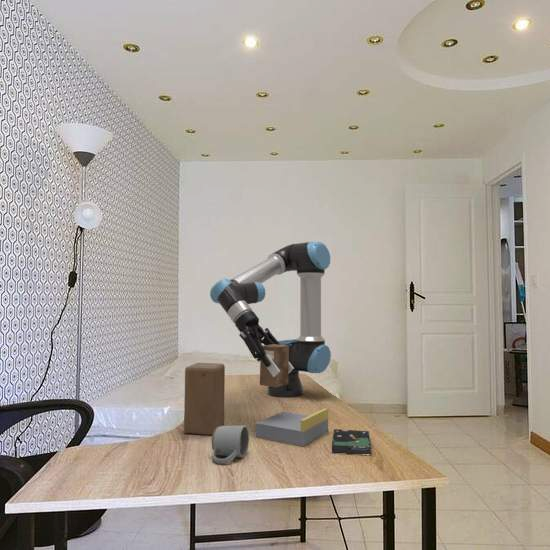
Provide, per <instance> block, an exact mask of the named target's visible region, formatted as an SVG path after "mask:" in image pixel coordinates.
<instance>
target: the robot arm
mask: <svg viewBox="0 0 550 550" xmlns="http://www.w3.org/2000/svg"><path fill="white" fill-rule="evenodd" d="M330 264H331V254H330V251H329V249H328V248H327V245H325V244H324V243H323V242H321V241H309V242H307V241H306V242H300V243H291V244H288V245H286V246H284V247H282V248H280V249H278V250H275V251H274V252H272V253H270V254H269V255H268V257H267V259H265V260H263V261H261V262H260V263H258V264H256V265H254V266H253V267H251V268H249V269H247V270H245V271H243V272H242V273H240V274H238V275H237V276H234V277H233V278H231V279H229V278H222V279H220V280H219V281H217V282H215V283H214V285H213V286H211V288H210V293H209V296H210V299H211V301H212V302H213V303H215V304H219V305H220V306H221V308H222V309H223V310H224V311H225V312H226V314H227V316H229V318H230V320H231V321H232V323H233V324H234V326H235V327H236V328H237V330H238V332H240V333H239V334H238V335H239V337H240V338H241V339H242V340H243V342H244V344H245V346H246V347H247V348H248V351H249V352H250V355H251V356H252V357H253V358H254V360H255V359H256V361H257V362H260V360H261V361H262V362H263V363H264V365H265V366H266V367H267V369H268V370H269V372H270V373H271V374H272V376H273V377H275V376H276V375H277V374H278V373H279V372H280V370H279V369H278V367H277V366H276V365H275V363H274V362H273V360H272V359H271V358H270V356H269V355H266V353H265V351H264V349H263V347H262V346H264V345H272V344H275V345H286V346H289V368H288V384H287V385H283V386H279V387H270V386H267V387H268V388H267V394H268V395H269V394H270V396H273V397H280V398H288V397H289V398H292V397H299V396H302V395H303V394H304V389H303V385H302V382H301V378H300V373H299V372H306V373H310V374H321V373H324V372H325V371H326V370H327V368H328V366H329V364H330V362H331V356H332V354H331V353H332V352H331V350H330V347H329V346H328V345H327V344H326V341H325V338H324V337H323V336H322V278H323V276H325V275H326V274H325V272H326V271H325V270H327V269H328V268H329V266H330ZM292 271H293V272H294V271H296V275H297V276H298V277H299V278H300V288H299V289H300V294H299V295H300V301H299V302H300V303H299V304H300V307H299V308H300V318H299V320H300V325H299V326H300V327H299V328H300V332H299V333H300V335H299V337H297V338H296V339H285V340H277V339H276V337H275V336H274V335H273V333H272V332H271V331H270V330H269V328H268V327H266V328H263V327H261V325H260V324H259V322H260V319H259V317H258V316H257V314H256V313H255V312H254V311H253V309H252V307H251V305H252V304H257V303H261V302H263V301H264V300H265V297H266V288H265V286H264V285H263V283H265V282H266V281H268V280H270V279H271V278H273V277H274V276H276V275H278V276H279V275H282V274H283V273H286V272H292ZM265 355H266V356H265ZM301 394H302V395H301Z"/></svg>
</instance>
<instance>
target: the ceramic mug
mask: <svg viewBox="0 0 550 550" xmlns="http://www.w3.org/2000/svg"><path fill="white" fill-rule="evenodd" d="M249 442H250V435H249V429H248V427H247V426H246V425H224V426H220V427H217V428H216V429H215V430H214V433H213V435H211V447H212V449H211V450H212V458H213V461H214V462H215V463H216V464H219V465H226V464H229V463H230V462H232V461H234V460H235V458H241V459H243V458H245V457H246V456H247V454H248V449H249V445H250V443H249ZM216 455H218V456H222V457H225V458H218V457H216Z"/></svg>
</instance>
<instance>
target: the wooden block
mask: <svg viewBox="0 0 550 550" xmlns="http://www.w3.org/2000/svg"><path fill="white" fill-rule="evenodd" d="M225 369H226V367H225V364H224V363H220V362H219V363H216V362H215V363H213V362H212V363H211V362H197V363H194V364H191V365H188V366H186V367H185V369H184V409H183V411H184V412H183V413H184V415H183V416H184V417H183V418H184V419H183V423H184V424H183V432H184V433H185V434H189V433H191V434H192V435H203V434H204V435H206V436H207V435H208V436H213V433H214V430H215V429H216V428H217V427H220V426H225V383H226V381H225V372H226V370H225ZM191 434H190V435H191Z"/></svg>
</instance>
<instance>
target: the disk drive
mask: <svg viewBox="0 0 550 550" xmlns="http://www.w3.org/2000/svg"><path fill="white" fill-rule="evenodd" d="M331 441H332V442H331V454H336V453H346V454H345V455H352V454H371V455H372V444H371V438H370V432H369V431H368V430H355V429H348V430H342V429H335V428H334V429H333V434H332V440H331Z"/></svg>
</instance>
